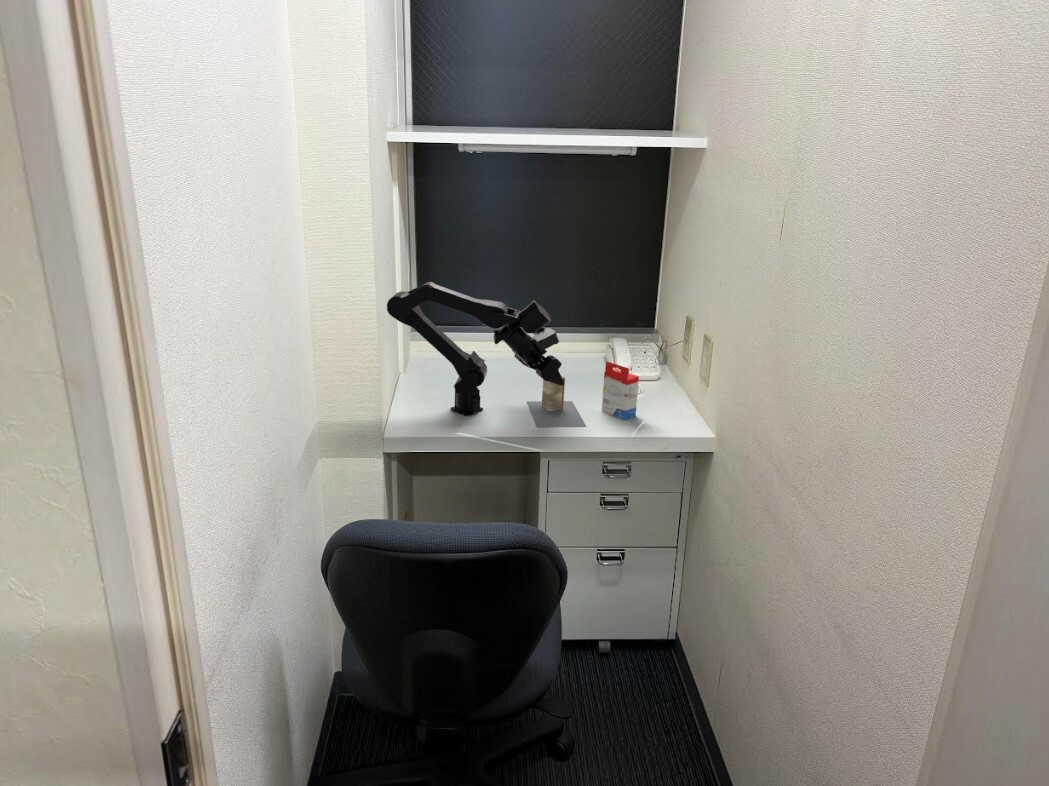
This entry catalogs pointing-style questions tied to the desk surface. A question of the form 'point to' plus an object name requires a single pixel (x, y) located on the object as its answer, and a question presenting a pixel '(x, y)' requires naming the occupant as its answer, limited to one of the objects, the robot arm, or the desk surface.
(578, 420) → the slate mat
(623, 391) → the ink box
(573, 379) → the desk surface
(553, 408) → the beech block
